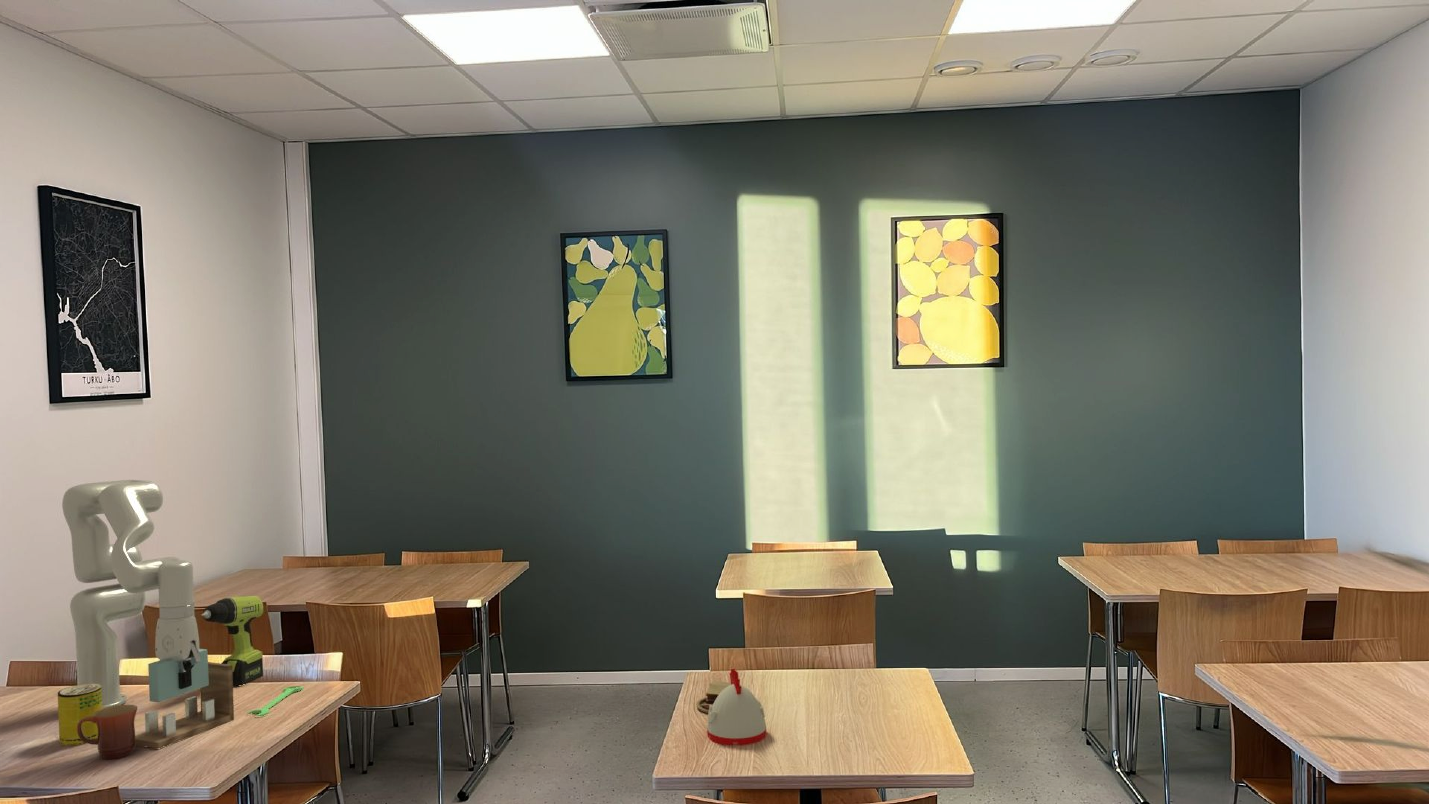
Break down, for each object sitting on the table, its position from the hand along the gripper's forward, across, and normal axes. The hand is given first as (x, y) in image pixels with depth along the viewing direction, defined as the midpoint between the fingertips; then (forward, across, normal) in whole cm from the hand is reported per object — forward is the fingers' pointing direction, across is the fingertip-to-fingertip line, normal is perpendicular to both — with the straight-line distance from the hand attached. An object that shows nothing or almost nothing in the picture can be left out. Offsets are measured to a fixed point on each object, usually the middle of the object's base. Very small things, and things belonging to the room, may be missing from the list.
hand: (179, 686), depth 240 cm
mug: (+12, -3, -17) cm, 21 cm away
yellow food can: (+12, -20, -11) cm, 26 cm away
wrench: (+12, +4, +26) cm, 29 cm away
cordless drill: (+12, -20, +33) cm, 40 cm away
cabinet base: (+12, 0, 0) cm, 12 cm away
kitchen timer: (+13, +130, +42) cm, 137 cm away
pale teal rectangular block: (+2, 0, 0) cm, 2 cm away
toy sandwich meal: (+13, +119, +59) cm, 133 cm away
